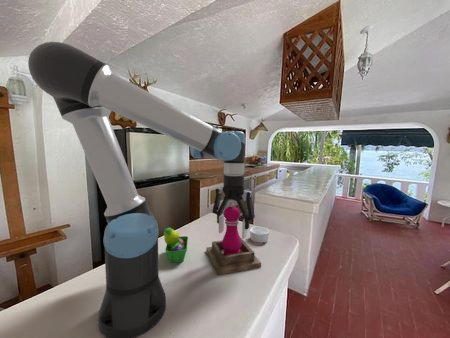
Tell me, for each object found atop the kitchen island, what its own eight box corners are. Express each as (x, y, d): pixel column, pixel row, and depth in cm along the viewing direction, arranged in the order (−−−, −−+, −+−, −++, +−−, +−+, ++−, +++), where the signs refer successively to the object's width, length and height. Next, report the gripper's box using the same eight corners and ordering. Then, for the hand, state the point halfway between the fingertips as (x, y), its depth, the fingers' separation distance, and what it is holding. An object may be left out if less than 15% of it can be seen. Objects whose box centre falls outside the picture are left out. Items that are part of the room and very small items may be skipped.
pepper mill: (244, 252, 75) (245, 201, 74) (235, 261, 69) (235, 206, 67) (228, 248, 79) (228, 199, 77) (218, 256, 73) (218, 203, 71)
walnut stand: (217, 274, 64) (217, 261, 64) (206, 251, 80) (206, 240, 79) (261, 266, 69) (261, 254, 69) (242, 245, 85) (243, 235, 84)
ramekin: (269, 244, 86) (269, 235, 86) (248, 242, 88) (249, 233, 88) (268, 236, 95) (269, 227, 95) (250, 234, 97) (250, 225, 96)
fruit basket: (187, 263, 71) (187, 233, 70) (161, 265, 69) (161, 234, 68) (188, 247, 82) (188, 221, 81) (166, 249, 81) (165, 222, 80)
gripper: (265, 175, 70) (263, 236, 72) (213, 171, 80) (212, 225, 82) (259, 178, 63) (257, 245, 66) (203, 173, 73) (202, 232, 75)
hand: (232, 234), depth 74 cm, fingers open, 9 cm apart
